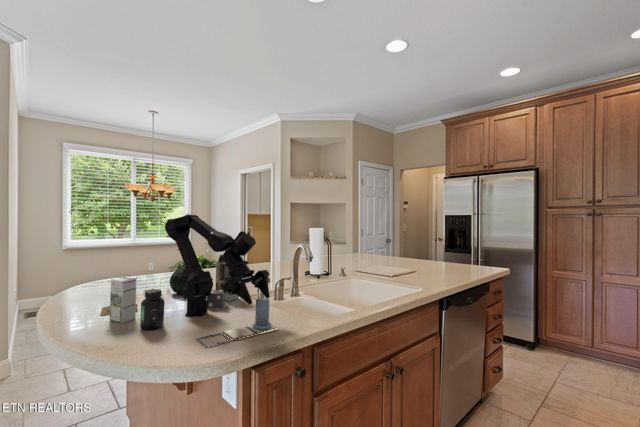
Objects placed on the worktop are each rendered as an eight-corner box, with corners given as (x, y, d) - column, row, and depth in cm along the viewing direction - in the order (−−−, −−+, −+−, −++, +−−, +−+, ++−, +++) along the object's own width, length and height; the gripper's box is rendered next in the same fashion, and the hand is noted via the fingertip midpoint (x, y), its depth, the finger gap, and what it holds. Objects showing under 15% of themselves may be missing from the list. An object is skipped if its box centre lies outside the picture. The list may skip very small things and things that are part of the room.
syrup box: (136, 318, 114) (137, 277, 114) (120, 323, 108) (122, 280, 108) (124, 316, 115) (125, 276, 116) (108, 321, 110) (110, 278, 110)
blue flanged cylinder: (257, 331, 102) (258, 303, 102) (249, 326, 107) (250, 299, 107) (274, 328, 106) (275, 300, 106) (265, 322, 111) (266, 296, 111)
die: (206, 308, 128) (207, 293, 128) (210, 304, 134) (210, 289, 134) (221, 308, 129) (222, 293, 129) (224, 304, 135) (225, 289, 135)
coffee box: (239, 298, 145) (240, 262, 145) (228, 301, 139) (229, 264, 140) (225, 295, 150) (226, 260, 150) (214, 298, 144) (215, 262, 144)
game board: (205, 347, 90) (206, 345, 90) (195, 339, 96) (196, 336, 96) (278, 330, 106) (278, 327, 106) (265, 323, 112) (265, 321, 112)
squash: (184, 277, 162) (174, 257, 153) (212, 280, 160) (204, 260, 151) (170, 301, 152) (159, 281, 142) (200, 304, 150) (190, 284, 140)
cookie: (101, 308, 125) (101, 306, 125) (137, 305, 131) (137, 303, 131) (98, 317, 115) (98, 314, 115) (137, 313, 121) (137, 310, 121)
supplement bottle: (138, 332, 101) (140, 293, 101) (141, 325, 107) (142, 289, 107) (163, 329, 103) (164, 292, 103) (164, 323, 110) (165, 288, 110)
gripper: (241, 274, 123) (263, 308, 118) (203, 282, 107) (226, 322, 102) (258, 256, 120) (281, 290, 114) (221, 261, 103) (246, 301, 98)
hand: (260, 300), depth 107 cm, fingers open, 9 cm apart
